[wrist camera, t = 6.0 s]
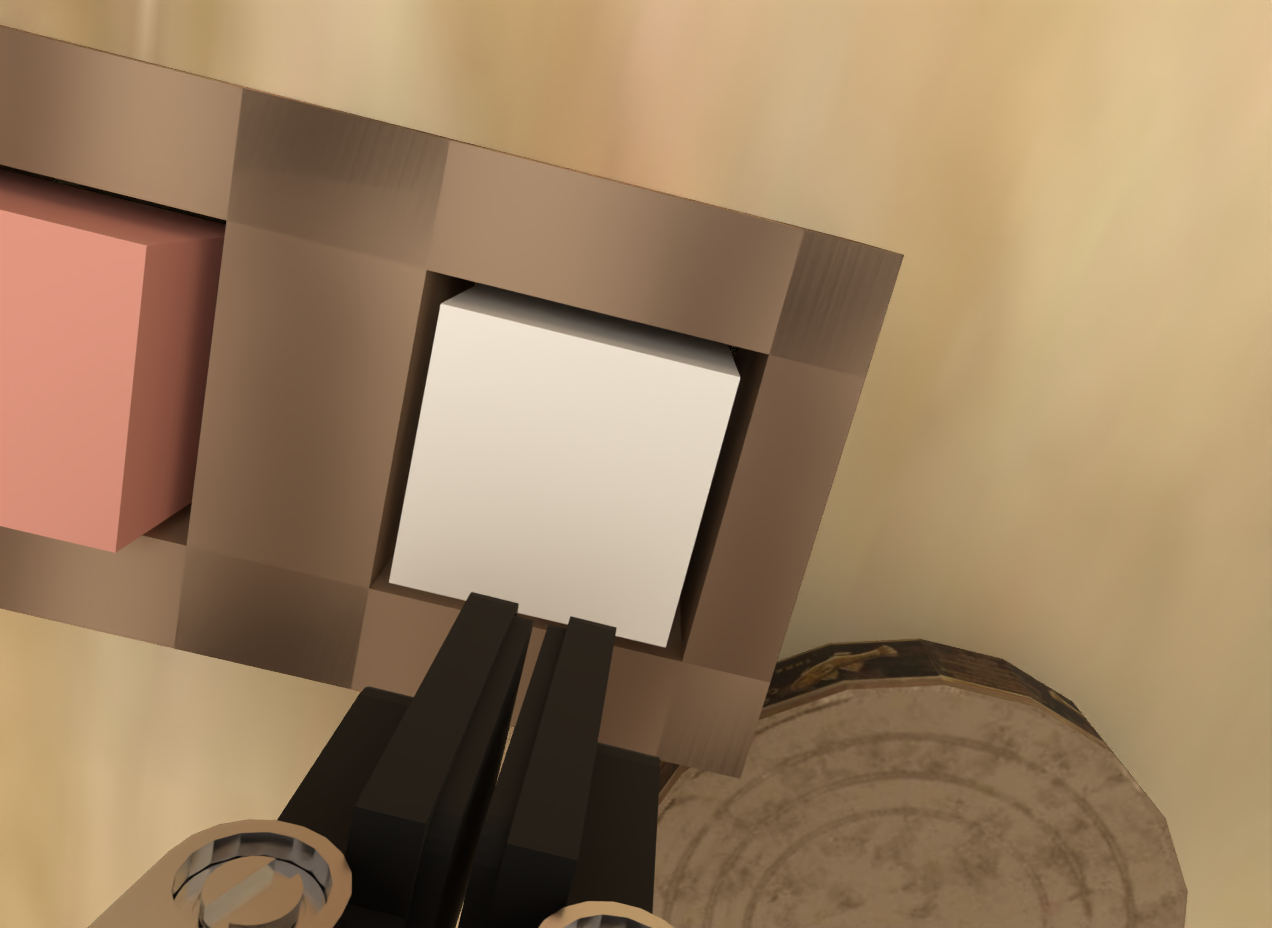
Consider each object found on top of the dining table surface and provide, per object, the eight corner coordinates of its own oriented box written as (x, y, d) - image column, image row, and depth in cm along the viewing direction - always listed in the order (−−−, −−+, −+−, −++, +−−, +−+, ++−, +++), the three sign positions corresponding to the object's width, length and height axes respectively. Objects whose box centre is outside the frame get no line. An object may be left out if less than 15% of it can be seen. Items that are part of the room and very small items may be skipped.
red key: (259, 232, 22) (146, 245, 17) (226, 478, 24) (116, 553, 19) (-5, 167, 22) (-193, 162, 17) (-20, 420, 24) (-195, 480, 19)
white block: (725, 339, 24) (740, 377, 19) (665, 561, 26) (665, 647, 21) (486, 280, 24) (440, 303, 19) (440, 507, 25) (388, 582, 21)
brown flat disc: (997, 536, 27) (1037, 577, 24) (1219, 949, 31) (1277, 1028, 28) (517, 786, 30) (502, 850, 27) (772, 1140, 33) (782, 1231, 30)
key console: (848, 239, 25) (904, 255, 19) (724, 657, 28) (739, 778, 22) (-19, 20, 24) (-236, -33, 18) (-43, 476, 27) (-234, 554, 21)
